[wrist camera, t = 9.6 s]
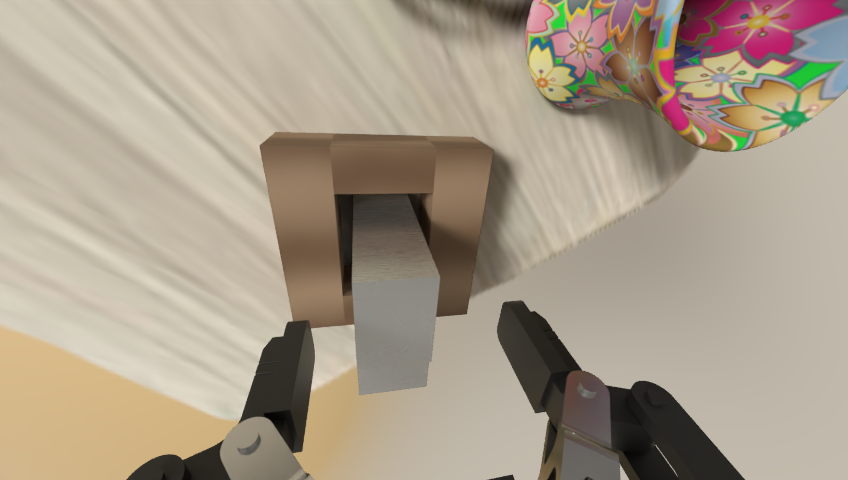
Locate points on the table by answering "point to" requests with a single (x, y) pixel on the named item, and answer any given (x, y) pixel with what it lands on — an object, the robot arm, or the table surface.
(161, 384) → the table surface
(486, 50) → the table surface
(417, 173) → the well block
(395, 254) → the grey rectangular block
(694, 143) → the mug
